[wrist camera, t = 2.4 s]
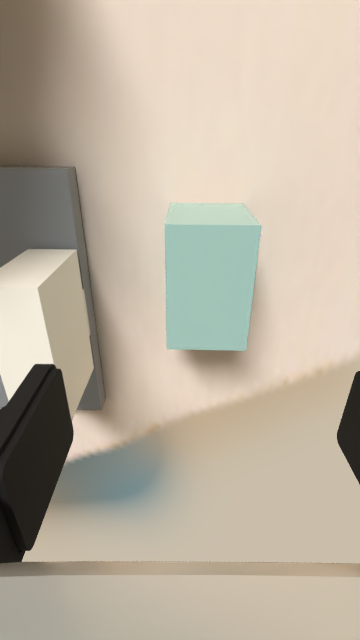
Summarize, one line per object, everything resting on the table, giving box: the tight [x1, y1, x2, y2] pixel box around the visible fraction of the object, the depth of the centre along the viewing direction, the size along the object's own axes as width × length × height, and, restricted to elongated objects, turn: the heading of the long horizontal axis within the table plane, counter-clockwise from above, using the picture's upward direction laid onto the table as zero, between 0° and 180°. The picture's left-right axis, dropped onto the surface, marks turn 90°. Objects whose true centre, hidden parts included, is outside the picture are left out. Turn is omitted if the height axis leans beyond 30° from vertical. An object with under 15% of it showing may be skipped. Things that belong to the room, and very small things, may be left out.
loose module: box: [165, 203, 261, 351], centre depth 20 cm, size 4×7×6 cm, turn 0°
